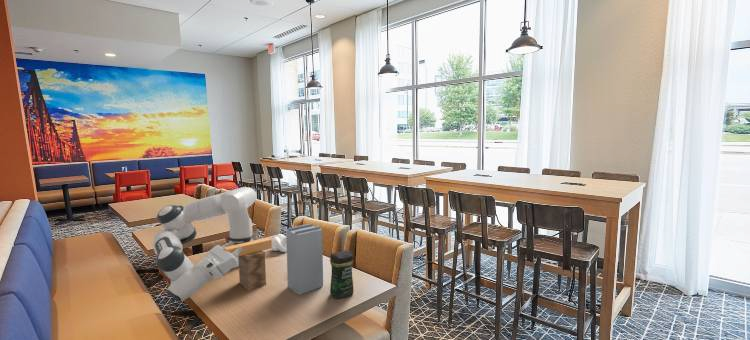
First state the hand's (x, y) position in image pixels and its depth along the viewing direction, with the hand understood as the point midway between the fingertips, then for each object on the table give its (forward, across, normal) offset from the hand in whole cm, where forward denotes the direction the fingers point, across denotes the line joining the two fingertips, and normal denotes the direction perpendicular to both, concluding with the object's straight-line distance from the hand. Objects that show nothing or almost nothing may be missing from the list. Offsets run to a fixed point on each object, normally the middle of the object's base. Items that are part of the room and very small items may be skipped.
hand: (237, 245), depth 151 cm
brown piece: (-4, 0, -20) cm, 20 cm away
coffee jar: (+16, +36, -32) cm, 51 cm away
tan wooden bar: (+2, 0, -6) cm, 7 cm away
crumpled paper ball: (+22, -32, -35) cm, 52 cm away
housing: (+10, +19, -28) cm, 35 cm away
